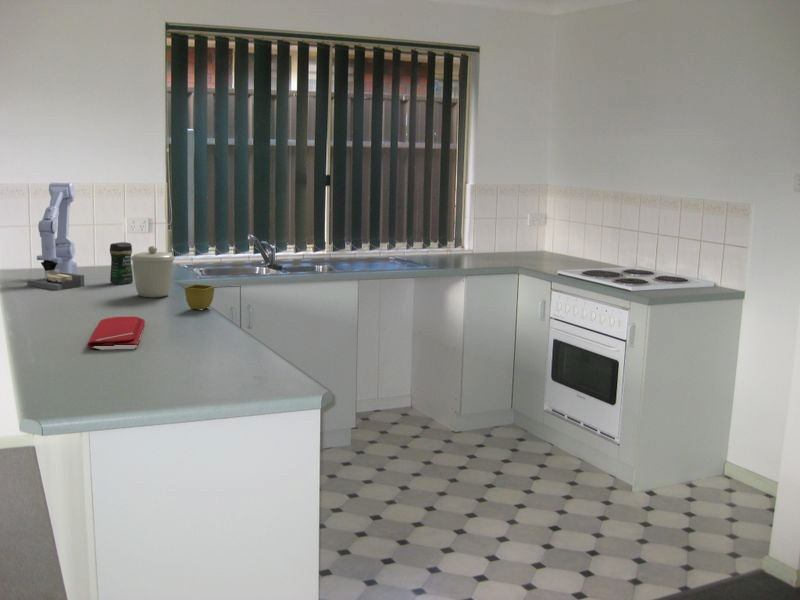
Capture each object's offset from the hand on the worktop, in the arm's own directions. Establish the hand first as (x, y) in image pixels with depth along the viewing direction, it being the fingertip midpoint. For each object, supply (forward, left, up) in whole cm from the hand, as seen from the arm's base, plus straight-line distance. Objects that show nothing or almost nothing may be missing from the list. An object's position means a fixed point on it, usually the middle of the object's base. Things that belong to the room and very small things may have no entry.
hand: (50, 277), depth 394 cm
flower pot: (-1, +89, -3) cm, 89 cm away
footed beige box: (0, +6, -2) cm, 6 cm away
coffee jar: (-23, +20, -3) cm, 31 cm away
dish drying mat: (+50, +100, -4) cm, 112 cm away
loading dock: (0, +4, -4) cm, 5 cm away
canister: (-10, +54, -3) cm, 55 cm away
